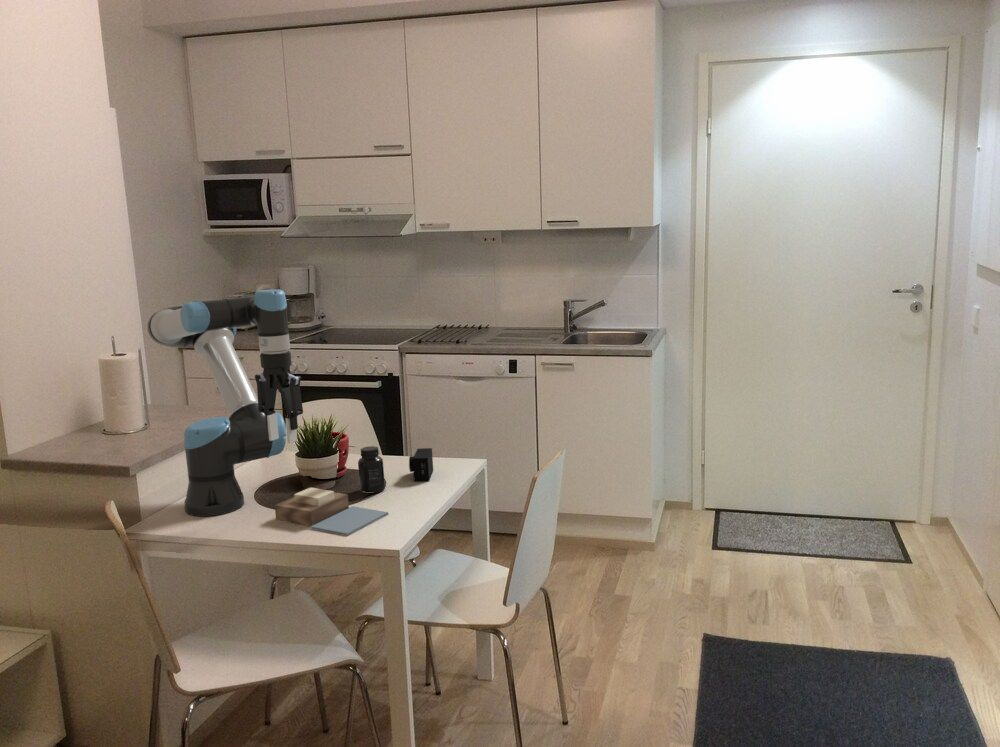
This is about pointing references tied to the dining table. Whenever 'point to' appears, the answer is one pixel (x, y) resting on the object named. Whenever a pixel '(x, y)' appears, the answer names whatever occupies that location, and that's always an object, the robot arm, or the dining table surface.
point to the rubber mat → (349, 520)
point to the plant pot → (342, 446)
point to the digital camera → (421, 464)
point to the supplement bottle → (371, 470)
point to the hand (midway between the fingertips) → (283, 440)
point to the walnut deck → (310, 510)
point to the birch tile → (314, 496)
